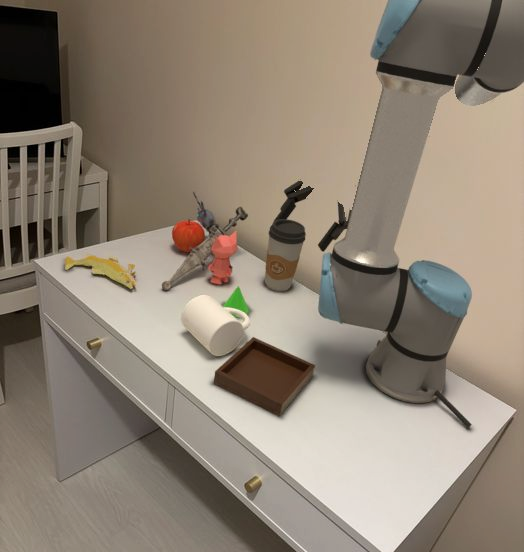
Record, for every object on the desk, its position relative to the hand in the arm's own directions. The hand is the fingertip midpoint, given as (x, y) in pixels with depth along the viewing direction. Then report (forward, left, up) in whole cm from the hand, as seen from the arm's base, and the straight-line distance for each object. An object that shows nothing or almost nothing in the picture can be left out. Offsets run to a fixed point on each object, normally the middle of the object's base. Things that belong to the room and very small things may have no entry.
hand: (298, 236), depth 126 cm
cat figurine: (+12, +12, -12) cm, 21 cm away
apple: (+26, +5, -12) cm, 29 cm away
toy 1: (+32, +23, -10) cm, 41 cm away
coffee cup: (+1, +4, -12) cm, 12 cm away
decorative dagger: (+19, +25, -11) cm, 33 cm away
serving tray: (-13, +37, -12) cm, 41 cm away
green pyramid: (+3, +20, -12) cm, 23 cm away
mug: (0, +31, -12) cm, 34 cm away
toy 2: (+17, +2, -9) cm, 19 cm away
